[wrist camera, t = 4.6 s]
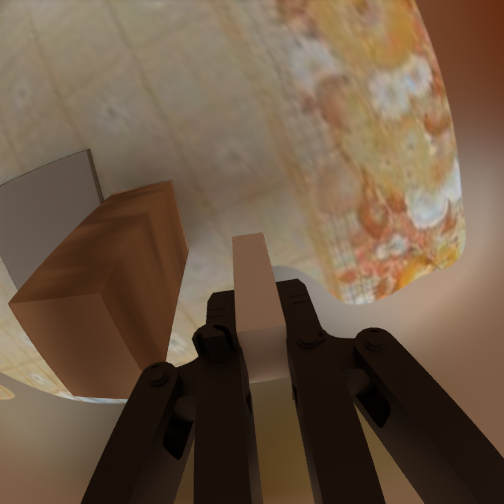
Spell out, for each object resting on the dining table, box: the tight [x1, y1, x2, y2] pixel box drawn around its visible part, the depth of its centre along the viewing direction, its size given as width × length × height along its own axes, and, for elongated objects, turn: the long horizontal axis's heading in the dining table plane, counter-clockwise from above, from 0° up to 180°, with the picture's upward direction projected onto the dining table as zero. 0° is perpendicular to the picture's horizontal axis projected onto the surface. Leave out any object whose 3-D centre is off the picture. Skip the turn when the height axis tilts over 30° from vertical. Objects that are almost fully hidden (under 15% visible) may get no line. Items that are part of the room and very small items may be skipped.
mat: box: [0, 149, 103, 290], centre depth 22 cm, size 14×14×1 cm
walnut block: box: [8, 180, 189, 399], centre depth 16 cm, size 5×6×14 cm
